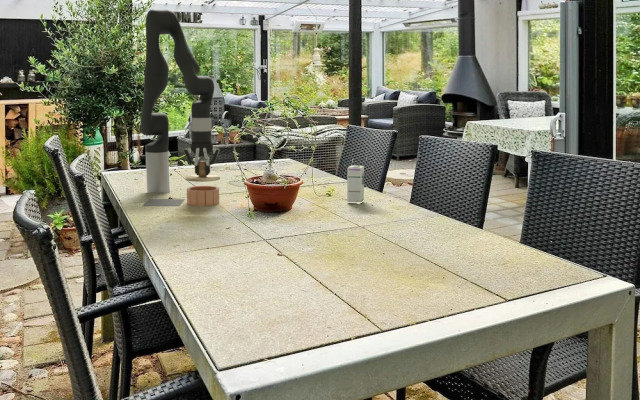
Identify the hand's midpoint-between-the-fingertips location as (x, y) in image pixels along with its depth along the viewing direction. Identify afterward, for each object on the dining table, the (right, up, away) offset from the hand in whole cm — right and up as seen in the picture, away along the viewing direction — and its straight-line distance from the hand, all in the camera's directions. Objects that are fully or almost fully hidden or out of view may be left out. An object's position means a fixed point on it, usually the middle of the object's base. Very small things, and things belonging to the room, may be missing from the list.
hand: (202, 174), depth 246 cm
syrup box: (+59, -11, +7) cm, 60 cm away
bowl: (0, -11, +2) cm, 11 cm away
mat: (-15, -11, +1) cm, 19 cm away
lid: (0, -2, 0) cm, 2 cm away
